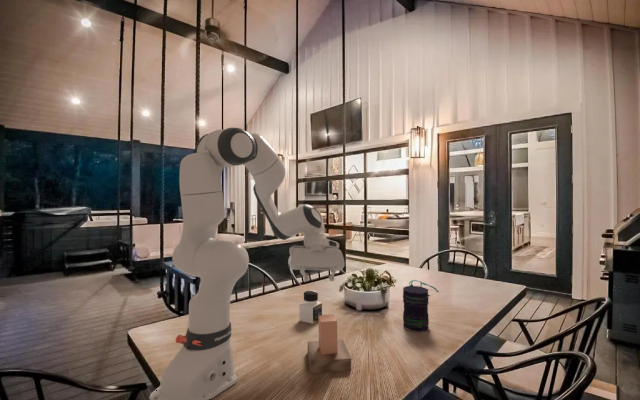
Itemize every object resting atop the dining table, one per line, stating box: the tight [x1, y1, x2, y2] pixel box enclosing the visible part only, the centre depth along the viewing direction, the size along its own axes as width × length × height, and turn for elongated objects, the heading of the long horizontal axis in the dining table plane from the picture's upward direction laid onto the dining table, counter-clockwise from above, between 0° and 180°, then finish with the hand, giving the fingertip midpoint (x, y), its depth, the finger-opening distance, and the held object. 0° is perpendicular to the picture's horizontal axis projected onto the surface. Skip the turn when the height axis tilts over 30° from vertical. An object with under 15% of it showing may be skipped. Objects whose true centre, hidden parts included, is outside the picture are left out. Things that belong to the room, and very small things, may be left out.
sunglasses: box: [408, 279, 440, 297], centre depth 164 cm, size 14×15×5 cm
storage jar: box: [402, 285, 430, 333], centre depth 116 cm, size 10×10×15 cm
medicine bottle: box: [298, 289, 323, 325], centre depth 123 cm, size 7×7×12 cm
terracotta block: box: [317, 313, 338, 355], centre depth 91 cm, size 5×5×10 cm
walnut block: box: [307, 339, 352, 374], centre depth 91 cm, size 12×12×4 cm
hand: (319, 280), depth 102 cm, fingers open, 8 cm apart
